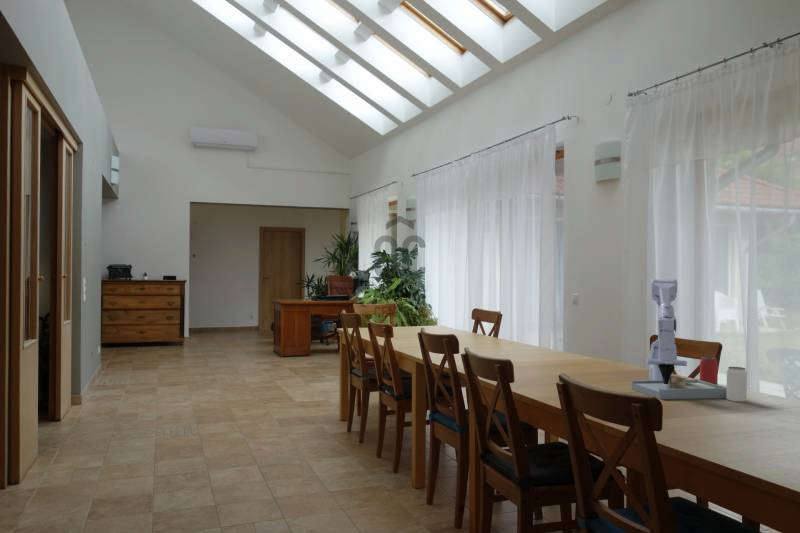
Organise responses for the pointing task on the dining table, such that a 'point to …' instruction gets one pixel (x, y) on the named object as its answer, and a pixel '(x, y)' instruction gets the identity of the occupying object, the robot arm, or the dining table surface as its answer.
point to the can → (736, 384)
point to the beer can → (709, 370)
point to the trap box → (680, 389)
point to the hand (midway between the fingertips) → (665, 383)
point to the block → (677, 381)
